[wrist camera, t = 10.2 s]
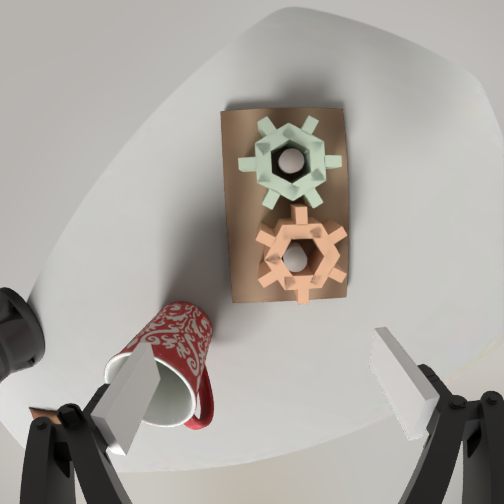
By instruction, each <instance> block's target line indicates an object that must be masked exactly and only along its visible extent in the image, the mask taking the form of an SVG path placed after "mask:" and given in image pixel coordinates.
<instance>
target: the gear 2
mask: <svg viewBox="0 0 504 504" xmlns="http://www.w3.org/2000/svg"><path fill="white" fill-rule="evenodd" d="M290 206H291V218H280V219H279V220H278V222H277V224H276V226H275V228H274V229H273V228H271V227H269V226H267V225H265V224H263V223H261V224H260V226H259V227H258V229H257V233H256V239H255V240H256V241H258V242H260V243H262V244H264V245H265V247H264V260H265V261H263V262H262V263H260V264H259V268H258V280H259V282H260V283H261V285H262V286H263V288H265V287H266V286H268V285H270V284H271V283H273V282H275V281H276V280H278V281H279V282H280V284H281V285H282V287H283V288H284V290H294V291H295V294H296V298H297V302H298V304H309V289H313V288H322V287H323V285H324V283H325V281H326V280H327V278H328V277H330V278H332V279H334V280H336V281H338V282H340V283H342V282H343V280H344V278H345V276H346V275H347V274H346V273H345V271H344V270H343V269H342V268H341V267H340V266H339V265H338V264H337V260H338V259H339V257H340V254H339V252H338V251H337V249H336V247H335V246H334V244H335V243H337V242H338V241H340V240H341V239H343V238H344V237H346V236H347V234H346V232H345V230H344V228H343V227H342V226H341V225H339V224H337V223H336V222H334V221H332V220H328V221H326V222H325V223H323V224H321V223H320V222H319V221H317V220H316V219H314V218H313V217H307V207H306V206H304V205H302V204H300V203H293V204H290ZM291 239H312V241H313V243H314V244H315V246H314V248H313V249H312V251H311V253H310V255H309V257H308V259H307V264H306V266H305V268H304V269H303V270H301V271H299V272H292V271H290V270H288V269H287V268H286V266H285V264H284V260H283V254H284V253H285V251H286V249H287V247H288V245H289V243H290V241H291Z"/></svg>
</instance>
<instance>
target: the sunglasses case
mask: <svg viewBox="0 0 504 504" xmlns="http://www.w3.org/2000/svg"><path fill="white" fill-rule="evenodd" d="M29 409H30V411H31V413H32V416H33V419H36V418H38V417H41V416H45V417H48V418H49V419H50V420H51V421H52V423H53V424H61V423H60V421H59V419H58V418H57V416H56V413H57V412H53V411H44V410H37V409H33V408H29Z"/></svg>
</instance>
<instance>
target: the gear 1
mask: <svg viewBox="0 0 504 504" xmlns="http://www.w3.org/2000/svg"><path fill="white" fill-rule="evenodd" d="M318 122H319V121H318V120H316V119H315V118H313V117H311V116H308V117H307V119H306V120H305V122H304V123H303V125H302V126H301V128H298V127H296V126H294V125H292V124H290V123H287V124H286V125H284V126H282V127H281V128H279V129H276V128H275V127H274V125H273V124H272V122H271V121H270V119H269V118H268V117H267V116H266V117H265V118H263V119H261V120H260V121H258V122H257V123H258V132H259V134H260V135H261V137H262V139H261V140H259V141H257V142H256V143H255V154H256V157H246V158H238V165H239V170H241V171H242V172H251V171H256V172H257V183H259V184H261V185H263V186H265V187H267V188H269V189H268V191H267V193H266V195H265V197H264V199H263V201H262V205H264V206H266V207H268V208H270V209H273V207H274V206H275V204H276V202H277V200H278V198H279V196H280V195H282V196H284V197H286V198H288V199H290V200H292V201H294V200H296V199H297V198H299V197H300V196H301V198H302V199H303V201H304V203H305V204H306V205H308V206H310V207H312V208H315V207H317V206H319V205H320V204H322V203H323V201H322V199H321V198H320V196H319V194H318V193H317V191H316V189H315V187H317V186H318V185H320V184H321V183H323V182H325V181H326V169H333V168H338V167H342V159H341V156H338V155H325V149H324V141H322V140H320V139H318V138H317V137H315V136H313V135H312V133H313V131H314V129H315V127H316V125H317V124H318ZM284 147H287V148H289V149H296V150H298V151H300V152H301V153H302V155H303V157H304V165H303V175H301V176H300V177H298V178H296V179H295V180H293V181H291V182H288V181H286V180H284V179H282V178H280V177H278V176H276V175H274V174H272V167H271V155H273V154H274V153H276V152H278V151H279V150H281V149H282V148H284Z"/></svg>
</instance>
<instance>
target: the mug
mask: <svg viewBox="0 0 504 504" xmlns="http://www.w3.org/2000/svg"><path fill="white" fill-rule="evenodd" d="M211 336H212V327H211V323H210V321H209V319H208V317H207V315H206V314H205V313H204V312H203V311H202V310H201V309H199V308H198V307H196V306H194V305H192V304H190V303H185V302H175V303H171V304H169V305H167V306H165V307H164V308H163V309H162V310H161V311H160V312H159V313H158V314H157V315H156V316H155V317H154V318H153V319H152V320H151V321H150V322H149V323H148V324H147V325H146V326H145V327H144V328H143V329H142V330H141V331H140V332H139V333H138V334H137V335H136V336H135V337H134V338H133V339H132V340H131V341H130V342H129V343H128V344H127V345H126V347H125V348H124V349H123V350H122V351H121V352H120V353H118V354H116V355H115V356H113V357H112V358H111V359H110V360H109V361H108V363H107V365H106V367H105V371H104V380H105V383H107V384H111V383H112V381H113V380H114V378H115V377H116V375H117V374H118V372H119V371H120V369H121V368H122V366H123V365H124V364H125V362H126V361H127V359H128V358H129V356H130V355H131V353H132V352H133V350H134V349H135V348H136V346H137V345H138V343H139V342H142V343H151V347H152V350H153V354H154V358H155V361H156V365H157V368H158V372H159V375H160V378H161V379H160V381H159V384H158V386H157V388H156V390H155V392H154V394H153V396H152V399H151V401H150V403H149V405H148V407H147V410H146V412H145V414H144V416H143V418H142V422H144V423H147V424H150V425H154V426H160V427H173V426H178V425H181V424H183V423H184V425H186V426H187V427H188V428H190V429H194V430H197V429H201V428H204V427H206V426H208V425H209V424H210V423H211V421H212V418H213V414H214V400H213V394H212V389H211V384H210V380H209V376H208V372H207V369H206V365H205V360H206V356H207V352H208V348H209V344H210V341H211ZM198 392H199V398H200V405H201V414H200V419H198V418H197V417H196V416H195V414H194V413H195V410H196V407H197V394H198Z"/></svg>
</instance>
